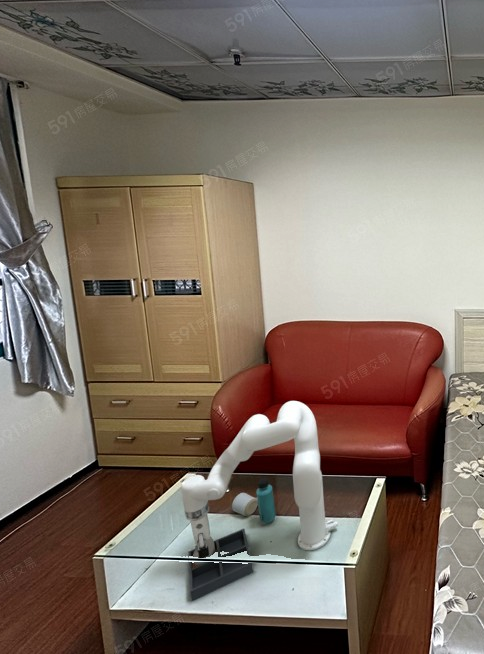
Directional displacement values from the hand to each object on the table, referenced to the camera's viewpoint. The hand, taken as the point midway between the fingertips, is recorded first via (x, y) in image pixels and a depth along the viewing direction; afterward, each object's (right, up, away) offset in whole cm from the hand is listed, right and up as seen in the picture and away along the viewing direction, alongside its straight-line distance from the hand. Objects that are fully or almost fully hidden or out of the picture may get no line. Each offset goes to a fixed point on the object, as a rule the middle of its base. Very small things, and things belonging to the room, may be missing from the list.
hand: (203, 548), depth 154 cm
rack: (+6, -7, 0) cm, 9 cm away
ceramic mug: (+3, -1, +28) cm, 28 cm away
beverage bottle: (+15, -2, +21) cm, 26 cm away
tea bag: (0, -5, +1) cm, 6 cm away
